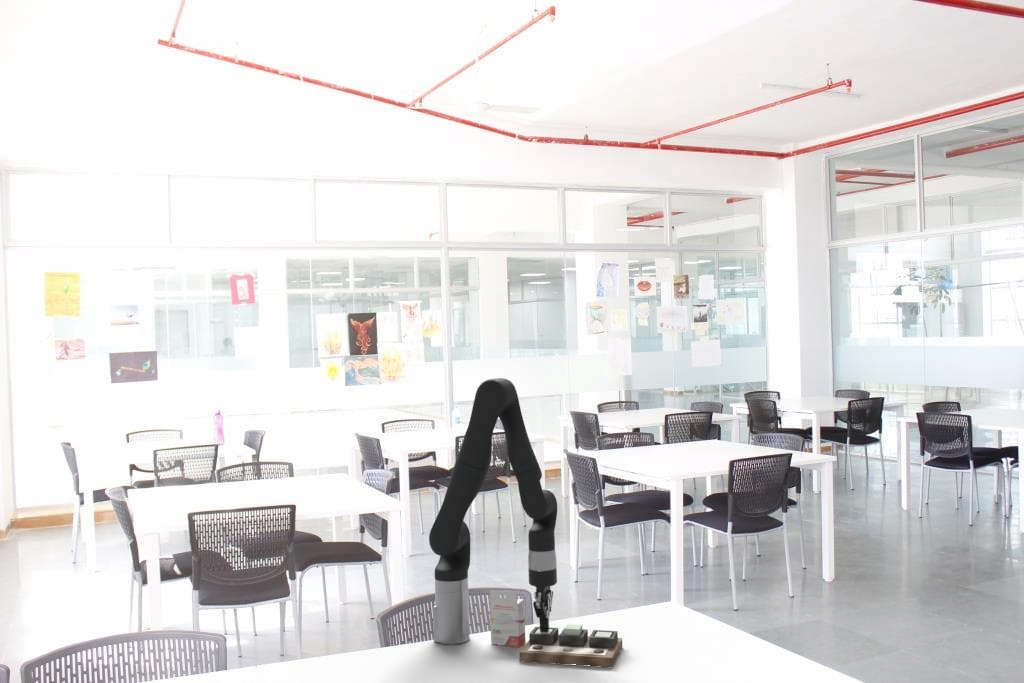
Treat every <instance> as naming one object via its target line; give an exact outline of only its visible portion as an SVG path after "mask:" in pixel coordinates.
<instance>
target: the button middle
mask: <svg viewBox="0 0 1024 683" xmlns="http://www.w3.org/2000/svg"><path fill="white" fill-rule="evenodd" d="M563 629H564V635H575V636H581V634H582V629H583V624H571V623H570V624H569V623H568V624H566V626H565V627H564V628H563Z"/></svg>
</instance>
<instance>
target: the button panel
mask: <svg viewBox="0 0 1024 683" xmlns="http://www.w3.org/2000/svg"><path fill="white" fill-rule="evenodd" d="M538 629H540V626H534V628H533V629H532V630H531V631H530V633H529V637H528V638H529V639H528V641H527V642H525V645H524V646H523V647H522V648H521V649H520V651H519V662H520V661H524V662H523V663H530V662H537V663H536V664H546V663H556V664H555V665H561V664H576V665H590V666H589V667H591V666H601V667H600V668H606V667H613V668H614V666H613V665H615V664H616V662H615V661H617V660H616V659H618V658H617V657H619V656H618V655H620V654H621V652H620V651H622V650H623V638H622V637H618V634H619V633H618V631H617V630H603V629H600V630H599V629H593V630H592V632H591V633H590V635H589V632H588V631H589V630H588V629H584V628H582V634H581V636H575V635H564V628H563V629H562V630H561V632H560V631H559V627H550V626H549V629H553V632H552V633H551V634H540V633H535V632H536V631H537V630H538ZM559 632H560V633H559ZM597 632H612V637H611V638H610V637H594V636H595V635H596V633H597ZM621 649H622V650H621ZM619 653H620V654H619ZM558 663H559V664H558ZM614 663H615V664H614ZM576 665H575V666H576Z"/></svg>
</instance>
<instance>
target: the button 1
mask: <svg viewBox="0 0 1024 683" xmlns="http://www.w3.org/2000/svg"><path fill="white" fill-rule="evenodd" d="M552 632H553V629H549V630H548V632H540V629H538V630H537V631H536V632H535V633H540V634H551V633H552Z"/></svg>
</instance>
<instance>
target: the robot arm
mask: <svg viewBox="0 0 1024 683" xmlns="http://www.w3.org/2000/svg"><path fill="white" fill-rule="evenodd" d="M474 395H475V396H474V401H473V404H472V410H471V413H470V418H469V421H468V422H469V423H468V425H467V428H466V431H465V433H464V437H463V440H462V443H461V446H460V448H459V451H458V454H457V457H456V460H455V463H454V465H453V469H452V473H451V476H450V480H449V482H448V486H447V489H446V492H445V494H444V498H443V501H442V504H441V506H440V509H439V510H438V514H437V515H436V518H435V520H434V522H433V524H432V525H431V526H432V527H431V529H430V532H429V535H428V542H429V547H430V549H431V550H432V552H433V553H434V554H435V555H437V556H439V560H438V562H437V565H436V566H435V568H434V594H435V595H434V596H435V599H434V602H435V605H434V606H433V607H432V620H433V621H432V622H433V623H432V624H433V642H435V643H439V644H443V645H460V644H463V643H467V642H468V641H469V640H470V631H471V630H470V607H469V604H470V603H469V600H470V599H469V578H468V577H469V574H468V573H469V569H470V565H471V533H470V529H469V526H468V525H467V523H466V522H465V521H464V520H465V518H466V514H467V512H468V510H469V508H470V506H471V505H472V504H473V503H474V500H475V499H476V498H477V496H478V494H479V493H480V490H482V488H483V485H484V483H485V480H486V479H487V475H488V474H489V470H490V466H491V462H492V453H493V447H492V446H493V444H492V443H493V442H492V441H493V434H494V429H495V426H496V424H497V422H498V420H499V419H500V423H501V425H502V427H503V430H504V431H503V432H504V434H505V435H504V436H505V444H506V452H507V457H508V460H509V464H510V466H511V468H512V472H513V474H514V476H515V480H516V481H517V485H518V491H519V497H520V502H521V506H522V509H523V511H524V512H525V514H526V515H527V516H528V517H529V518H530V519H532V525H531V527H530V529H529V530H528V554H527V555H528V557H527V559H528V560H527V564H528V566H527V567H528V568H527V569H528V584H529V585H530V586H531V587H535V588H536V589H535V591H534V594H533V596H534V599H535V601H533V603H532V606H533V609H534V612H535V616H536V618H538V619H539V627H540V632H548V630H549V627H550V615H551V612H552V605H553V598H554V590H552V589H551V587H553V586H555V585H556V584H557V583H558V574H557V573H558V570H557V555H556V536H555V529H556V524H557V518H558V501H557V497H556V496H555V494H554V493H553V492H552V491H551V490H548V489H543V488H542V484H541V480H542V478H543V473H542V470H541V467H540V463H539V462H538V459H537V457H536V455H535V454H536V453H535V452H534V450H533V447H532V443H531V441H530V438H529V434H528V432H527V428H526V425H525V421H524V417H523V413H522V410H521V405H520V400H519V396H518V392H517V389H516V387H515V384H513V382H512V381H511V380H509V379H507V378H504V377H503V378H502V377H499V378H497V377H495V378H489V379H486V380H484V381H482V382H481V383H480V384H479V386H478V387H477V389H476V392H475V394H474ZM498 418H499V419H498Z"/></svg>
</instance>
